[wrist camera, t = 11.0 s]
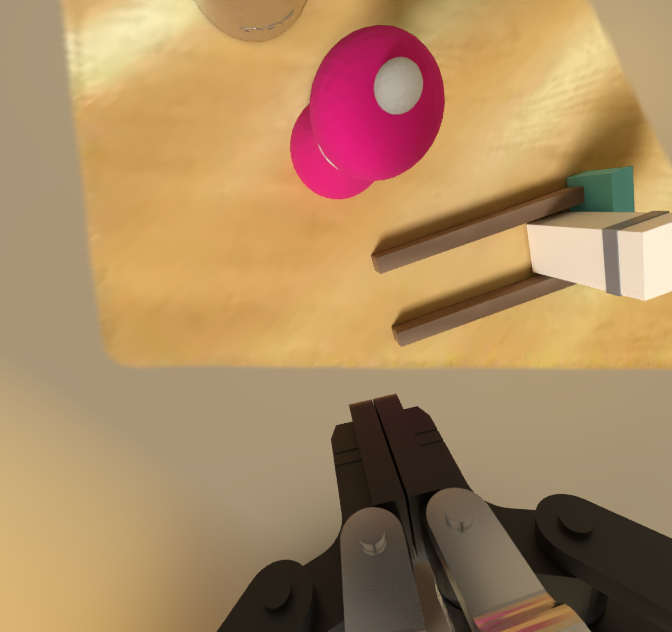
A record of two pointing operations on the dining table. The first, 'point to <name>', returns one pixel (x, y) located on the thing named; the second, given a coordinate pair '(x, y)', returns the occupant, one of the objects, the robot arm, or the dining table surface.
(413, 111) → the pepper mill
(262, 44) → the dining table surface
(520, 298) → the guide rails
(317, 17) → the dining table surface
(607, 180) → the teal rectangular block
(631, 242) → the sleeve
